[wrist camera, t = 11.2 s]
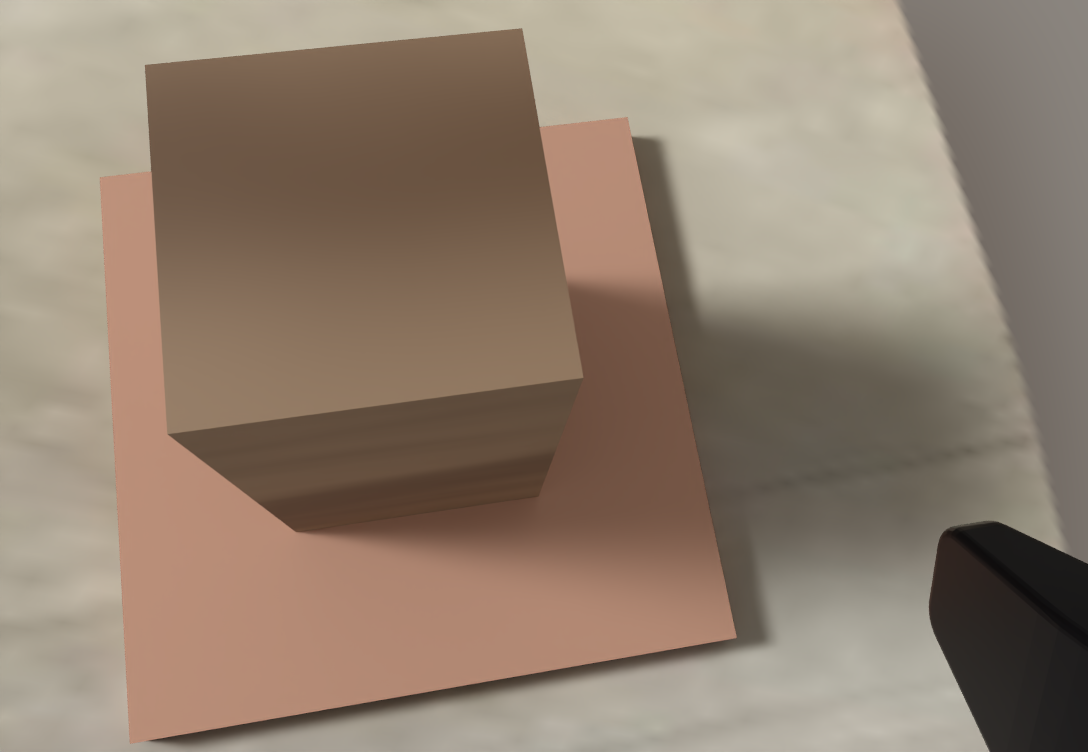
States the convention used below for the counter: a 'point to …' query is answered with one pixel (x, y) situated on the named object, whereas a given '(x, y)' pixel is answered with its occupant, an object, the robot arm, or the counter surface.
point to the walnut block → (361, 276)
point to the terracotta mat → (424, 539)
